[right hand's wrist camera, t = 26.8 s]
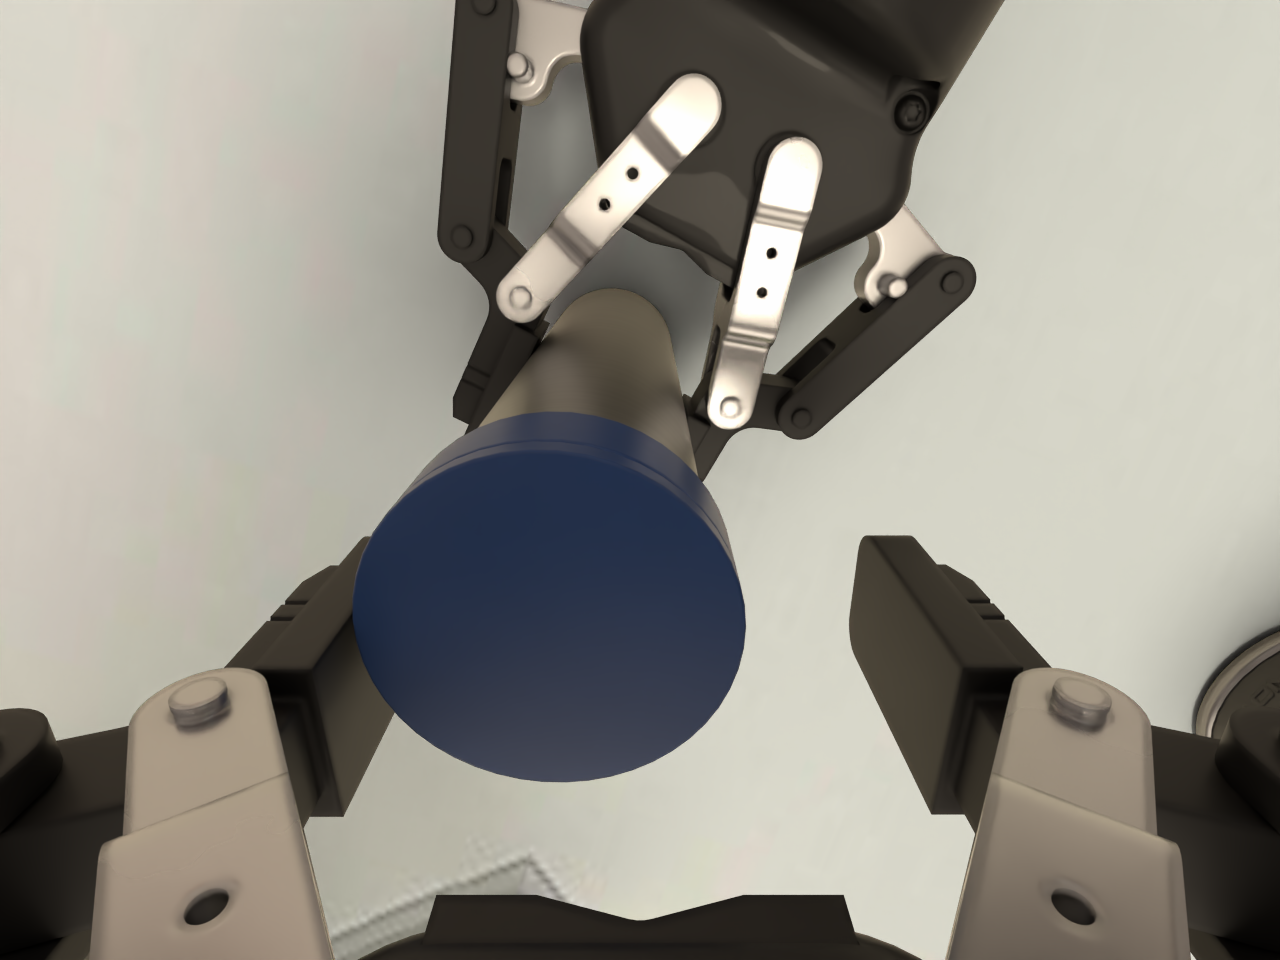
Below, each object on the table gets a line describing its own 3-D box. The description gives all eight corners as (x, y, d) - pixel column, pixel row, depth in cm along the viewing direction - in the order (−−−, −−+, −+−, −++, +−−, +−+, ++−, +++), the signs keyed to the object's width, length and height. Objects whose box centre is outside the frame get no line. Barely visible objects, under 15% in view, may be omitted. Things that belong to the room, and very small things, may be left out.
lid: (748, 682, 11) (766, 759, 9) (448, 723, 11) (418, 804, 9) (706, 381, 9) (719, 416, 7) (348, 442, 9) (291, 487, 8)
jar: (695, 339, 25) (786, 577, 9) (622, 428, 26) (589, 771, 10) (600, 261, 24) (515, 376, 8) (529, 358, 25) (335, 621, 9)
